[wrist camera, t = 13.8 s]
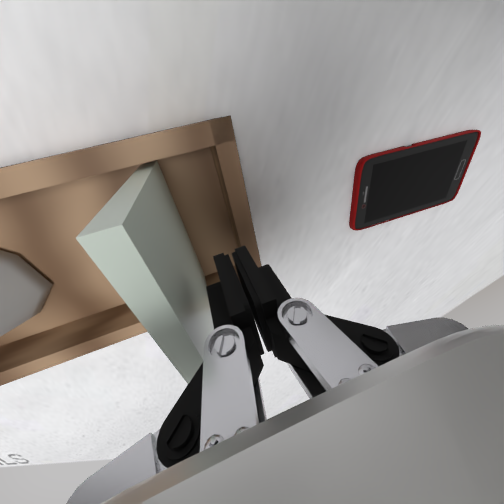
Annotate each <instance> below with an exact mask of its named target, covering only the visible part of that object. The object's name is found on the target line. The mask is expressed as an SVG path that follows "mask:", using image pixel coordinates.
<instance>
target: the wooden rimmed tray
mask: <svg viewBox="0 0 504 504" xmlns="http://www.w3.org/2000/svg"><path fill="white" fill-rule="evenodd" d="M153 161H157V162H158V164H159V167H160V169H161V171H162V174H163V176H164V179H165V181H166V183H167V186H168V188H169V191H170V193H171V195H172V198H173V200H174V203H175V205H176V208H177V210H178V212H179V215H180V217H181V220H182V222H183V224H184V227H185V229H186V232H187V234H188V236H189V239H190V241H191V244H192V246H193V248H194V251H195V253H196V256H197V258H198V261H199V263H200V265H201V268H202V270H203V273H204V275H205V280H206V285H207V286H209V285H212V284H214V283H217V282H220V279H219V276H218V272H217V269H216V265H215V262H214V259H213V256H215V255H218V254H221V253H224V255H227V254H229V257H230V259H231V262H232V264H233V266H234V269H235V271H236V274H237V276H238V273H237V270H236V266H235V263H234V260H233V257H232V253H233V252H235V249H236V248H239V247H242V246H246V248H247V250H248V251H249V253H250V255H251V256H252V258H253V260H254V262H255V263H256V265H257V267H258V268H259V267H261V261H260V257H259V252H258V247H257V242H256V237H255V232H254V227H253V223H252V218H251V213H250V208H249V203H248V198H247V193H246V189H245V184H244V179H243V174H242V169H241V164H240V160H239V155H238V150H237V145H236V140H235V135H234V130H233V126H232V121H231V116H226V117H220V118H216V119H211V120H207V121H202V122H198V123H194V124H189V125H185V126H181V127H176V128H172V129H168V130H163V131H159V132H154V133H150V134H146V135H141V136H137V137H133V138H128V139H124V140H120V141H115V142H111V143H107V144H102V145H98V146H93V147H89V148H85V149H80V150H76V151H72V152H67V153H63V154H59V155H54V156H50V157H45V158H41V159H37V160H32V161H28V162H24V163H19V164H15V165H11V166H6V167H2V168H0V250H2V251H5V252H9V253H12V254H16V255H18V256H19V257H21V258H22V259H23V260H24V261H25V262H27V263H28V264H29V265H30V266H31V267H32V268H34V269H35V270H36V271H37V272H38V273H39V274H41V275H42V276H43V277H44V278H45V279H46V280H48V281H49V282H50V283H51V284H52V287H51V289H50V292H49V294H48V296H47V299H46V301H45V303H44V305H43V308H42V310H41V312H40V313H38V314H36V315H35V316H33V317H32V318H30V319H29V320H27V321H25V322H24V323H22V324H20V325H19V326H17V327H15V328H14V329H12V330H10V331H9V332H7V333H5V334H4V335H2V336H1V337H0V386H1V385H4V384H6V383H9V382H12V381H14V380H17V379H20V378H23V377H25V376H28V375H31V374H33V373H36V372H39V371H42V370H44V369H47V368H50V367H52V366H55V365H58V364H61V363H63V362H66V361H69V360H71V359H74V358H77V357H80V356H82V355H85V354H88V353H90V352H93V351H96V350H99V349H101V348H104V347H107V346H109V345H112V344H115V343H118V342H120V341H123V340H126V339H128V338H131V337H134V336H137V335H139V334H142V333H145V332H147V330H146V329H145V327H144V326H143V325H142V324H141V322H140V321H139V320H138V318H137V317H136V316H135V315H134V313H133V312H132V311H131V309H130V308H129V307H128V305H127V304H126V303H125V302H124V300H123V299H122V298H121V296H120V295H119V294H118V293H117V291H116V290H115V289H114V287H113V286H112V285H111V283H110V282H109V281H108V280H107V278H106V277H105V276H104V274H103V273H102V272H101V270H100V269H99V268H98V267H97V265H96V264H95V263H94V261H93V260H92V259H91V258H90V256H89V255H88V254H87V252H86V251H85V250H84V248H83V247H82V246H81V245H80V243H79V242H78V241H77V239H76V237H77V236H78V235H79V234H80V232H81V231H82V230H83V229H84V228H85V227H86V226H87V225H88V223H89V222H90V221H91V220H92V219H93V218H94V217H95V216H96V215H97V213H98V212H99V211H100V210H101V209H102V208H103V207H104V206H105V204H106V203H107V202H108V201H109V200H110V199H111V198H112V197H113V196H114V194H115V193H116V192H117V191H118V190H119V189H120V188H121V187H122V185H123V184H124V183H125V182H126V181H127V180H128V179H129V178H130V176H131V175H132V174H133V173H134V172H135V171H136V170H137V169H138V168H139V166H140V165H141V164H145V163H149V162H153ZM238 278H239V276H238ZM239 281H240V279H239Z"/></svg>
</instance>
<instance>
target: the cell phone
mask: <svg viewBox="0 0 504 504" xmlns="http://www.w3.org/2000/svg"><path fill="white" fill-rule="evenodd" d="M480 136H481V131H480V130H467V131H463V132H459V133H455V134H451V135H447V136H443V137H439V138H435V139H431V140H427V141H423V142H419V143H415V144H412V146H408V147H405V146H403V147H399V148H395V149H391V150H387V151H383V152H379V153H375V154H371V155H368V156H365V157H363V158H361V159H360V160H359V161H358V163H357V165H356V169H355V176H354V184H353V193H352V202H351V211H350V220H349V226H350V228H351V229H353V230H362V229H366V228H369V227H372V226H375V225H378V224H381V223H385V222H388V221H391V220H394V219H397V218H400V217H403V216H407V215H410V214H413V213H416V212H419V211H422V210H425V209H429V208H432V207H435V206H438V205H441V204H444V203H447V202H449V201H452V200H453V199H454V198H455V197H456V195H457V193H458V191H459V189H460V187H461V184H462V182H463V179H464V177H465V174H466V172H467V169H468V167H469V164H470V162H471V159H472V157H473V154H474V152H475V149H476V147H477V144H478V142H479V139H480ZM380 222H381V223H380ZM377 223H378V224H377ZM374 224H375V225H374ZM371 225H372V226H371Z"/></svg>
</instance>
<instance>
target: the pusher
mask: <svg viewBox="0 0 504 504" xmlns="http://www.w3.org/2000/svg"><path fill="white" fill-rule="evenodd" d="M76 239H77V241H78V242H79V243H80V245H81V246H82V247H83V248H84V250H85V251H86V252H87V254H88V255H89V256H90V258H91V259H92V260H93V261H94V263H95V264H96V265H97V267H98V268H99V269H100V270H101V272H102V273H103V274H104V276H105V277H106V278H107V280H108V281H109V282H110V283H111V285H112V286H113V287H114V289H115V290H116V291H117V293H118V294H119V295H120V296H121V298H122V299H123V300H124V302H125V303H126V304H127V305H128V307H129V308H130V309H131V311H132V312H133V313H134V315H135V316H136V317H137V318H138V320H139V321H140V322H141V324H142V325H143V326H144V327H145V329H146V330H147V331H148V333H149V334H150V335H151V337H152V338H153V339H154V340H155V342H156V343H157V344H158V346H159V347H160V348H161V350H162V351H163V352H164V353H165V355H166V356H167V357H168V359H169V360H170V361H171V362H172V364H173V365H174V366H175V368H176V369H177V370H178V372H179V373H180V374H181V375H182V377H183V378H184V379H185V381H186V382H187V383H188V384H189V382H190V381H191V379H192V378H193V376H194V375H195V373H196V372H197V370H198V369H199V367H200V366H201V364H202V363H203V355H204V344H205V341H206V339H207V337H208V335H209V334H210V333H211V332H212V331H213V330H214V326H213V321H212V316H211V311H210V305H209V300H208V295H207V290H206V286H207V285H206V280H205V275H204V273H203V270H202V268H201V265H200V263H199V261H198V258H197V256H196V253H195V251H194V248H193V246H192V244H191V241H190V239H189V236H188V234H187V232H186V229H185V227H184V224H183V222H182V220H181V217H180V215H179V212H178V210H177V208H176V205H175V203H174V200H173V198H172V195H171V193H170V191H169V188H168V186H167V183H166V181H165V179H164V176H163V174H162V171H161V169H160V167H159V164H158V162H157V161H153V162H149V163H145V164H141V165H140V166H139V168H138V169H137V170H136V171H135V172H134V173H133V174H132V175H131V176H130V178H129V179H128V180H127V181H126V182H125V183H124V184H123V185H122V187H121V188H120V189H119V190H118V191H117V192H116V193H115V194H114V196H113V197H112V198H111V199H110V200H109V201H108V202H107V203H106V204H105V206H104V207H103V208H102V209H101V210H100V211H99V212H98V213H97V215H96V216H95V217H94V218H93V219H92V220H91V221H90V222H89V223H88V225H87V226H86V227H85V228H84V229H83V230H82V231H81V232H80V234H79V235H78V236H77V237H76Z"/></svg>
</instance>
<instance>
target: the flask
mask: <svg viewBox="0 0 504 504" xmlns="http://www.w3.org/2000/svg"><path fill="white" fill-rule="evenodd" d="M51 287H52V284H51V283H50V282H49V281H48V280H46V279H45V278H44V277H43V276H42V275H41V274H39V273H38V272H37V271H36V270H35V269H34V268H32V267H31V266H30V265H29V264H28V263H27V262H25V261H24V260H23V259H22V258H21V257H19V256H18V255H16V254H12V253H9V252H5V251H2V250H0V337H1V336H2V335H4V334H5V333H7V332H9V331H10V330H12V329H14V328H15V327H17V326H19V325H20V324H22V323H24V322H25V321H27V320H29V319H30V318H32V317H33V316H35V315H36V314H38V313H40V312H41V310H42V308H43V305H44V303H45V301H46V299H47V296H48V294H49V292H50V289H51Z"/></svg>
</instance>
